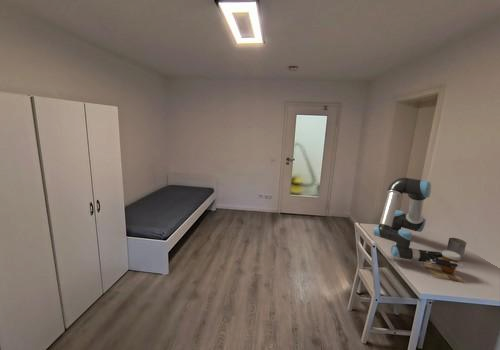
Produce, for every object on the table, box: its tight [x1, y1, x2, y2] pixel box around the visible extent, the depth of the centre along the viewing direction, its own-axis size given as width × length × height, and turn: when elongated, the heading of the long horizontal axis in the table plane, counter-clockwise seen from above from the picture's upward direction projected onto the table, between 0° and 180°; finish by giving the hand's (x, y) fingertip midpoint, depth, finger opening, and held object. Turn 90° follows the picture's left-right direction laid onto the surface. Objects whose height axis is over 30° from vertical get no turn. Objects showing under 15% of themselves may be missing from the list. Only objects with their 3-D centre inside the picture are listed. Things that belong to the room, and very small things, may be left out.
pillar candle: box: [445, 237, 467, 262], centre depth 168 cm, size 10×10×15 cm
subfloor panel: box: [422, 261, 465, 284], centre depth 151 cm, size 17×16×1 cm
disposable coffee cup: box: [441, 249, 461, 273], centre depth 149 cm, size 10×10×12 cm
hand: (458, 261), depth 147 cm, fingers closed on disposable coffee cup, 8 cm apart
